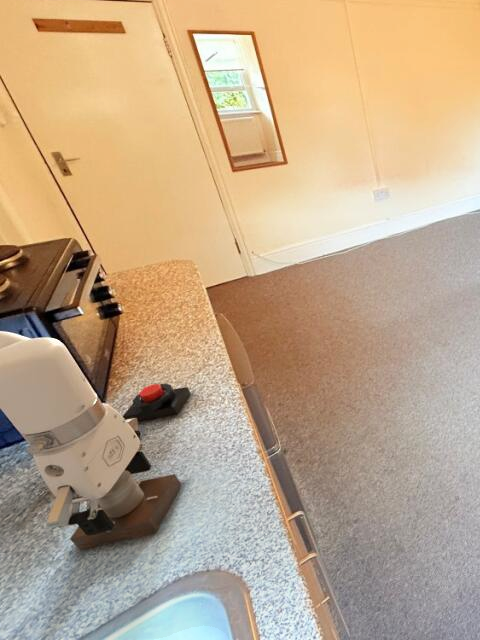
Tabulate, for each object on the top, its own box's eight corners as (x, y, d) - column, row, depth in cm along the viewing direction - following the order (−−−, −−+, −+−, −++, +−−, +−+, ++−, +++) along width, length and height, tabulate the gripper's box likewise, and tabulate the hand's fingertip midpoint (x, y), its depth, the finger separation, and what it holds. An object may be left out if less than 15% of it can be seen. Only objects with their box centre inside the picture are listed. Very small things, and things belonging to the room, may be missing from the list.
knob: (133, 514, 61) (117, 492, 59) (100, 521, 60) (82, 499, 58) (150, 487, 65) (136, 466, 62) (119, 493, 64) (103, 472, 62)
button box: (126, 424, 80) (117, 410, 78) (144, 401, 86) (136, 388, 84) (177, 415, 82) (169, 401, 80) (191, 393, 88) (184, 380, 86)
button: (139, 403, 81) (135, 397, 80) (148, 391, 84) (145, 385, 83) (158, 400, 81) (154, 394, 80) (167, 388, 84) (163, 382, 83)
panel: (78, 552, 59) (67, 540, 58) (114, 497, 66) (106, 485, 65) (155, 534, 61) (146, 522, 60) (182, 483, 69) (175, 471, 67)
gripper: (50, 471, 48) (115, 551, 55) (135, 373, 63) (177, 447, 70) (-28, 486, 46) (49, 567, 54) (78, 382, 61) (127, 456, 69)
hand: (122, 498), depth 62 cm, fingers open, 9 cm apart
